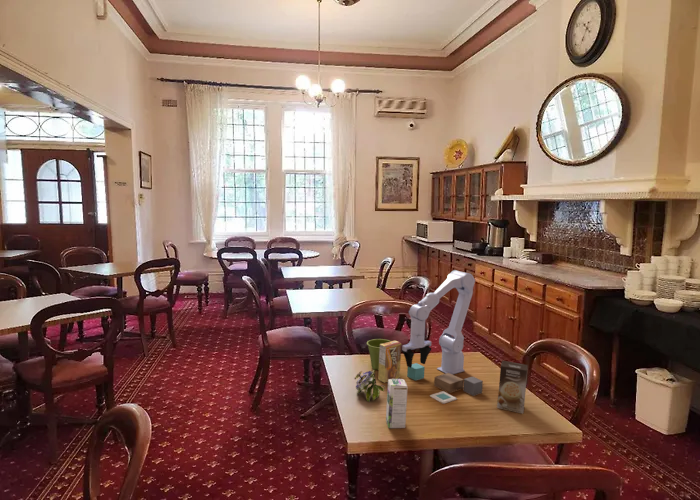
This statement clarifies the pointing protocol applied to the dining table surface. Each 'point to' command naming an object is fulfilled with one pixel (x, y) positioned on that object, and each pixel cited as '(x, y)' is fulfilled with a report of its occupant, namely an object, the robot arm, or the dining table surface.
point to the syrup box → (396, 403)
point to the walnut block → (448, 382)
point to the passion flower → (365, 382)
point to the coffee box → (512, 386)
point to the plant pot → (375, 351)
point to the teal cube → (415, 371)
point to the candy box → (389, 361)
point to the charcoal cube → (473, 386)
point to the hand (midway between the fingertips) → (416, 365)
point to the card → (443, 397)
